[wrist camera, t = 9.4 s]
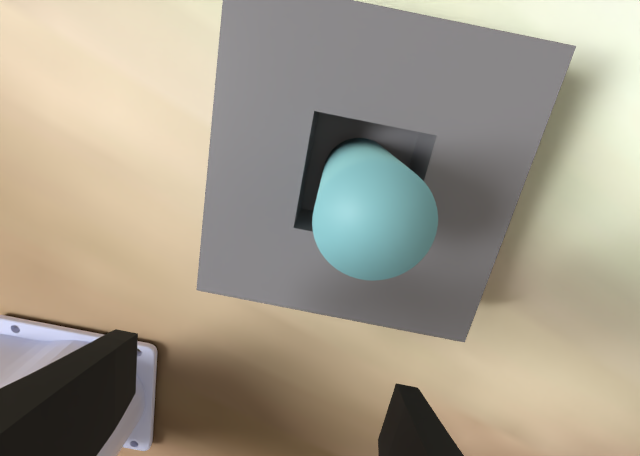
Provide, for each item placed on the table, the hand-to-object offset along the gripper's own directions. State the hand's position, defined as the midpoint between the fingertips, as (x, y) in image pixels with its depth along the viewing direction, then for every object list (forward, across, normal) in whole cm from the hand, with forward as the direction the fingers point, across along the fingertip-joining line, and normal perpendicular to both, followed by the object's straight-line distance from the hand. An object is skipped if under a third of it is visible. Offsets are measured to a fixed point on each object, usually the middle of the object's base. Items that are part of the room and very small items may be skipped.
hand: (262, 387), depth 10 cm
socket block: (+9, -2, -5) cm, 11 cm away
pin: (+9, -2, -5) cm, 10 cm away
